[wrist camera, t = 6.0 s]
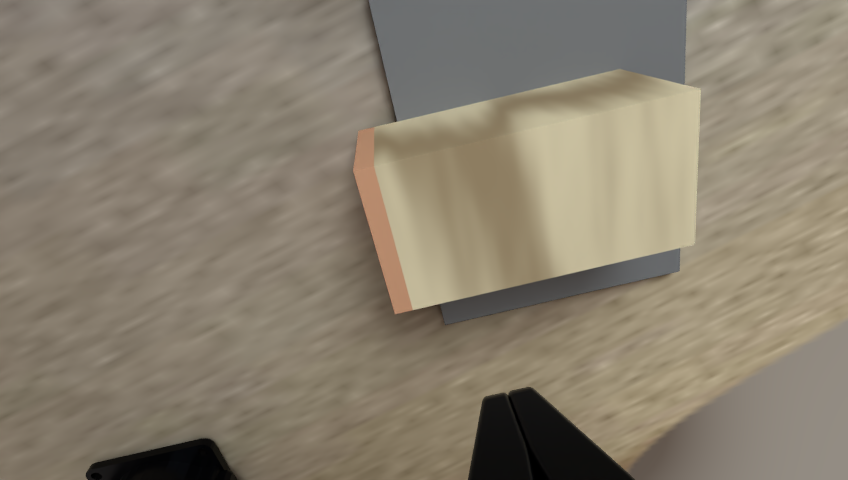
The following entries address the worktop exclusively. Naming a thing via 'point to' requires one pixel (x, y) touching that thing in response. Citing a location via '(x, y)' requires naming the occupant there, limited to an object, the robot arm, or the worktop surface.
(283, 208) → the worktop surface
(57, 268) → the worktop surface
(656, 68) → the rubber mat
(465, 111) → the maple block
